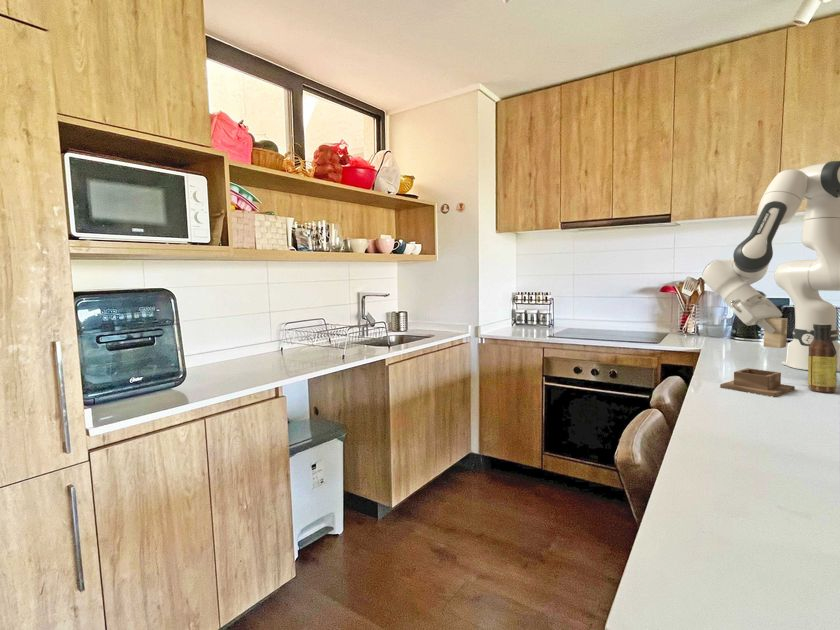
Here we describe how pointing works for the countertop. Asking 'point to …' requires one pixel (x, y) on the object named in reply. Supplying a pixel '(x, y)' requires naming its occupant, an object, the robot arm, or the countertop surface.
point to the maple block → (776, 333)
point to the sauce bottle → (822, 360)
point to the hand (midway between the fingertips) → (777, 331)
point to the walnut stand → (757, 382)
